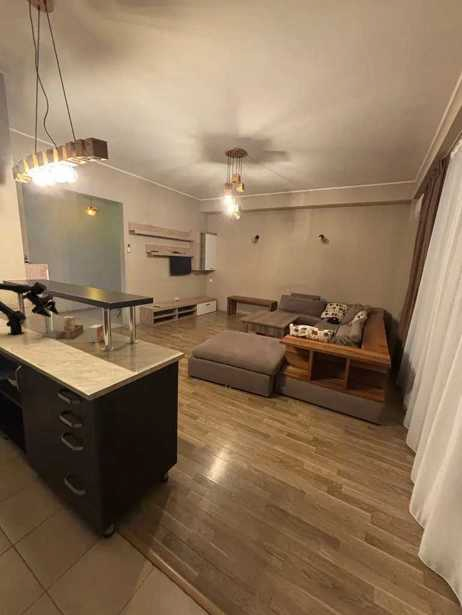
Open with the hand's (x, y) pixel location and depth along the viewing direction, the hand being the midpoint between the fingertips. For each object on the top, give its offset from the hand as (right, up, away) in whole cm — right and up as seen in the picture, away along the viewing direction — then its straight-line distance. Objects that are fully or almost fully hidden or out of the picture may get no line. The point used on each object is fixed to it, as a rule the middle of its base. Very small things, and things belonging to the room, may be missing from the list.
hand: (54, 315), depth 170 cm
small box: (+31, -17, -3) cm, 36 cm away
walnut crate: (+8, -14, +5) cm, 17 cm away
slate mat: (-1, -14, +3) cm, 14 cm away
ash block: (+8, -14, +5) cm, 17 cm away
